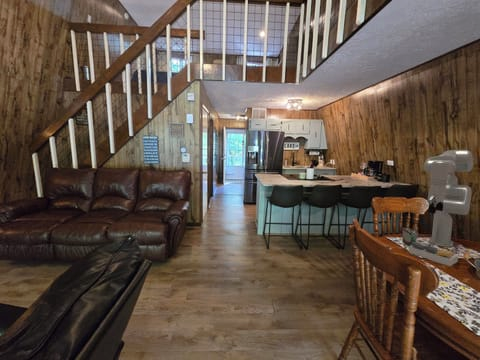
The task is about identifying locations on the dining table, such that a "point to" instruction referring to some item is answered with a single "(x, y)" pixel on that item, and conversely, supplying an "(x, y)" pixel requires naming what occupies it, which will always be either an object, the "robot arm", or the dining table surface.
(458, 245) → the dining table surface
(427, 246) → the rocker
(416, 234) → the food container
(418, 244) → the rocker
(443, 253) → the rocker
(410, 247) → the grey tray
